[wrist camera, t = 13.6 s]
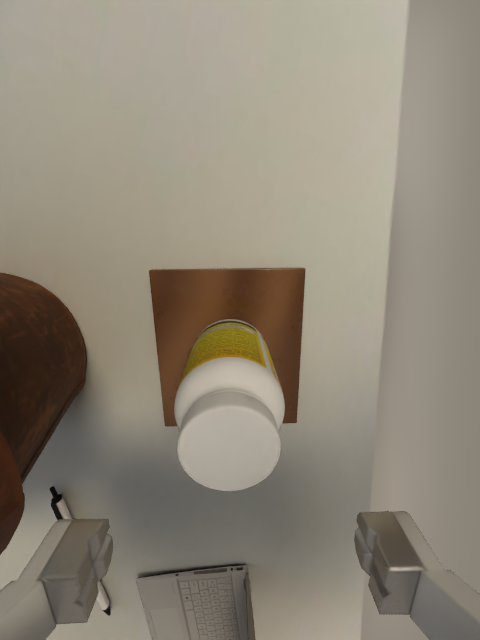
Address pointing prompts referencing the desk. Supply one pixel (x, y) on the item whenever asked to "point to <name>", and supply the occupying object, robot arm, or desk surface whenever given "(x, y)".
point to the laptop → (199, 604)
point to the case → (32, 384)
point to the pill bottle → (229, 408)
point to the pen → (63, 513)
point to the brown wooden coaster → (228, 303)
